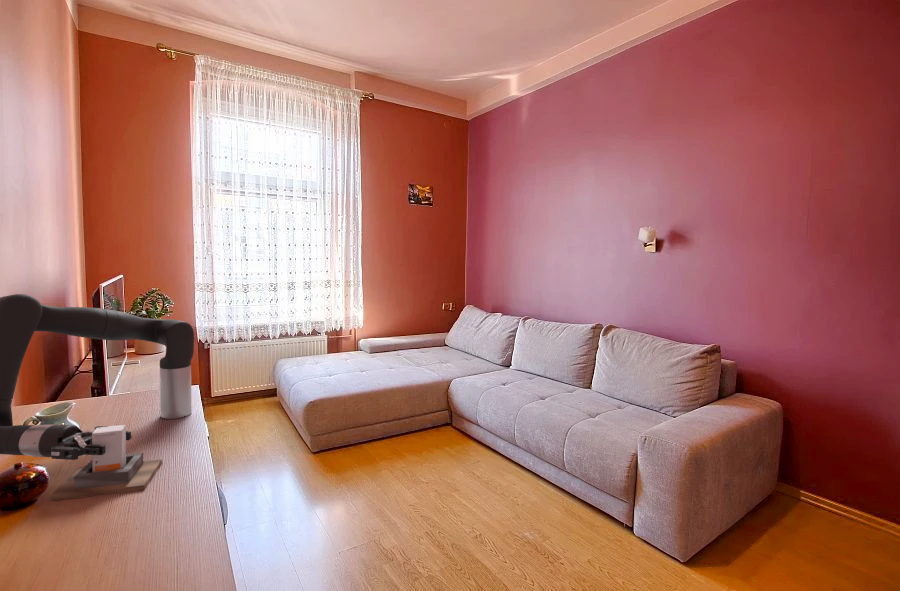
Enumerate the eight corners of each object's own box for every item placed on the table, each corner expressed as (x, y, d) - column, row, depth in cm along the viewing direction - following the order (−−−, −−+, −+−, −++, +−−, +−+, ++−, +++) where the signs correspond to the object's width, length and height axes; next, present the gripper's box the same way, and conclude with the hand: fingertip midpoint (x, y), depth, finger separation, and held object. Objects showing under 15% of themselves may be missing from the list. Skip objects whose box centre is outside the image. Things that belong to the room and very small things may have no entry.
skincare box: (92, 482, 105) (90, 433, 104) (97, 474, 109) (95, 427, 108) (123, 477, 108) (122, 430, 107) (127, 470, 111) (126, 424, 110)
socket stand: (80, 471, 112) (79, 455, 112) (161, 463, 118) (161, 448, 117) (50, 500, 99) (50, 482, 98) (144, 489, 105) (144, 472, 104)
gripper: (22, 437, 100) (94, 439, 100) (74, 415, 114) (138, 417, 114) (23, 469, 101) (95, 471, 101) (75, 443, 115) (138, 445, 115)
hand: (118, 442), depth 108 cm, fingers open, 8 cm apart
